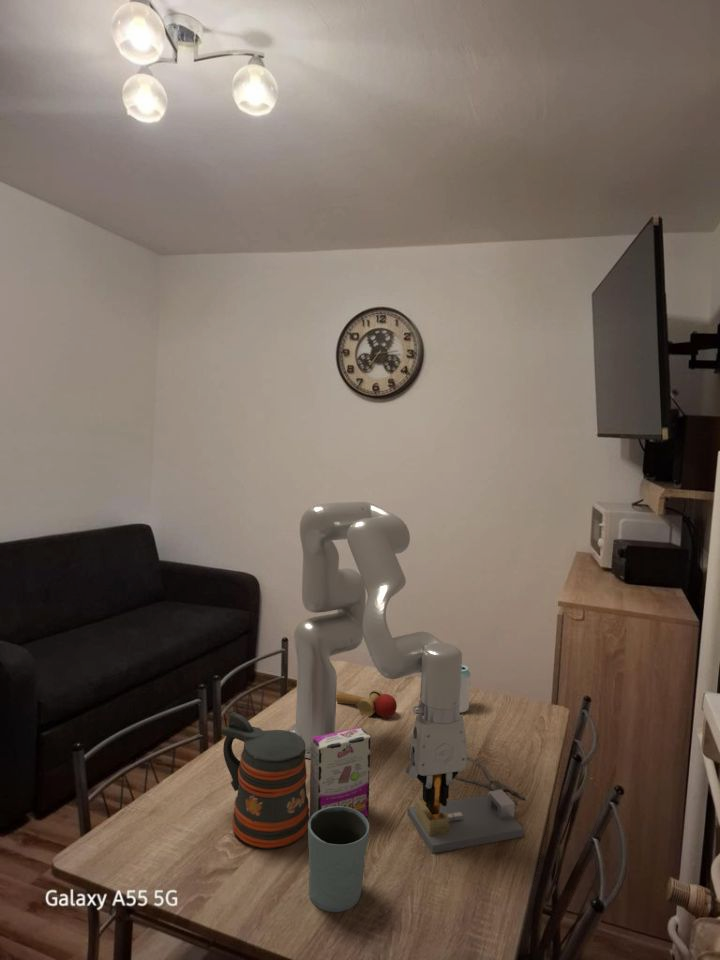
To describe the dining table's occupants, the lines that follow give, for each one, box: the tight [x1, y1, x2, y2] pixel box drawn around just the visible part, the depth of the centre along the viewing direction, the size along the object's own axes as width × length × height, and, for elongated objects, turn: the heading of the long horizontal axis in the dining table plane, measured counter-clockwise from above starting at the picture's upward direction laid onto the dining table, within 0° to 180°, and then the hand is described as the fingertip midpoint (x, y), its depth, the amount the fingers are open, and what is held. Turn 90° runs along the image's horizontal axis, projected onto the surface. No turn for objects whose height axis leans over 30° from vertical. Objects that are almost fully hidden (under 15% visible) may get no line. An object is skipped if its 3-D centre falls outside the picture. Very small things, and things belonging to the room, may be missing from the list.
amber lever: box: [430, 774, 463, 822], centre depth 121 cm, size 7×2×10 cm, turn 108°
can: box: [459, 663, 471, 714], centre depth 175 cm, size 7×7×12 cm
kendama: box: [336, 689, 398, 719], centre depth 172 cm, size 8×6×18 cm
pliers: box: [454, 756, 526, 805], centre depth 140 cm, size 10×1×20 cm
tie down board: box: [407, 794, 525, 854], centre depth 123 cm, size 19×12×2 cm, turn 108°
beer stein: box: [221, 711, 310, 849], centre depth 121 cm, size 19×15×20 cm
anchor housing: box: [487, 790, 515, 821], centre depth 125 cm, size 3×5×3 cm, turn 18°
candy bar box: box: [309, 726, 371, 819], centre depth 124 cm, size 11×5×16 cm, turn 117°
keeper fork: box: [415, 798, 450, 836], centre depth 121 cm, size 4×7×3 cm, turn 18°
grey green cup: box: [307, 806, 370, 913], centre depth 103 cm, size 10×10×12 cm
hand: (435, 802), depth 121 cm, fingers closed on amber lever, 2 cm apart
